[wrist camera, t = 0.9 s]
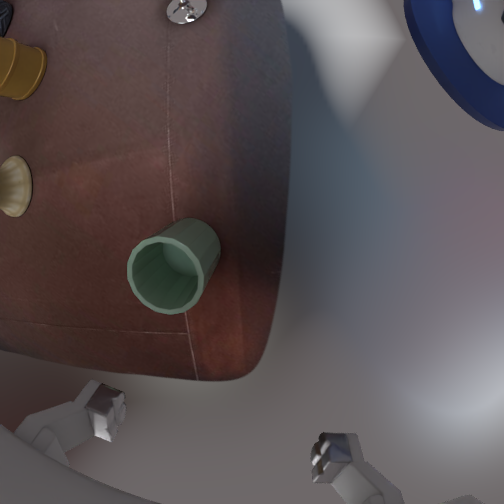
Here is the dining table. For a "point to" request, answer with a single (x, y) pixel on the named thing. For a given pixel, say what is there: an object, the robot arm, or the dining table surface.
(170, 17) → the wineglass
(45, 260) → the dining table surface
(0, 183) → the hand bell
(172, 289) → the sage cup
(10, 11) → the vase
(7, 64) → the cup stack
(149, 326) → the dining table surface
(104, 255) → the dining table surface
